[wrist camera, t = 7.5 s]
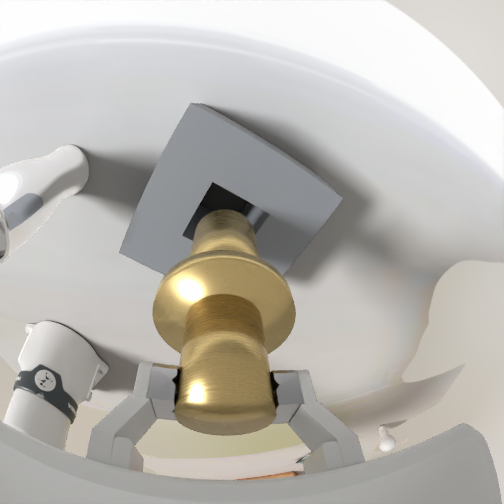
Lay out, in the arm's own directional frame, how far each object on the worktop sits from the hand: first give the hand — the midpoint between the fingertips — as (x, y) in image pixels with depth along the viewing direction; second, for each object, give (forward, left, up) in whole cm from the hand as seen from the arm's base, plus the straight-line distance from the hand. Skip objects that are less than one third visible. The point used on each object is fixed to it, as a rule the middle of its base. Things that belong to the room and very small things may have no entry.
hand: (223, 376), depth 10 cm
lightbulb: (-42, -84, -22) cm, 96 cm away
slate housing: (0, 0, -22) cm, 22 cm away
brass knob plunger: (0, 0, -12) cm, 12 cm away
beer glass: (-6, +18, -22) cm, 29 cm away
